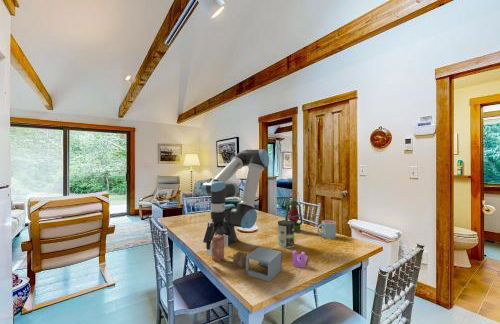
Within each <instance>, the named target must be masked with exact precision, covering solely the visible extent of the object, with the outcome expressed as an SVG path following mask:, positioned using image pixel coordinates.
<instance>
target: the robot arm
mask: <svg viewBox="0 0 500 324" xmlns="http://www.w3.org/2000/svg"><path fill="white" fill-rule="evenodd" d="M269 164H270V156H269V153H268V151H267V150H266V149H261V148H258V149H244V150H241V151H239V152H238V153H237V154H235V155H234V156H233V157H232V158H231V160H230V162H229V163H227V165H225V167H224V168H223V169H221V170H220V171H219V173H218V174H216V175H215V177H213V178H212V179H211V180H210V181H209V182H208V181H207V182H203V184H201V193H202V194H203V195H206V196H210V219H211V222H210V221H209V222H207V225H206V226H207V228H206V231H205V234H204V236H203V241H202V242H203V243H205V244H206V247H205V248H206V255H207V256H210V257H212V239H213V236H215V235H217V234H218V235H223V236H224V248H229V245H231V244H234V243H236V242H237V241H238V236H237V232H236V230H235V227H237V228H241V229H251V228H253V227H254V226H255V224H256V222H257V218H258V212H257V210H256V207H255V206H254V205H255V200H256V197H257V192H258V186H259V183H260V179H261V178H260V177H261V174H262V172H263V171H264V170H265V167H268V166H269ZM244 167H247V168H248V170H247V171H248V172H247V176H246V180H245V183H244V188H243V190H242V194H241V199H240V201H239V202H238V203H237V204H236V207H235V204H233V203H229V204H226V199H227V198H233V197H235V196H237V195H238V194H239V190H240V189H239V186H238V185H237V184H236V183H235V182H234V183H231V182H230V183H228V181H230V179H231V178H232V177H233V176H234V175H235V174H236V173H237V172H238V170H241V169H242V168H244Z"/></svg>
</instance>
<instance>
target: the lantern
mask: <svg viewBox="0 0 500 324" xmlns="http://www.w3.org/2000/svg"><path fill="white" fill-rule="evenodd" d="M291 192H294V193H297V194H298V195H300V193H299V192H298V191H297V190H290V191H289V192H288V194H287V195H288V196H287V198H288V199H287V202H286V205H287V206H286V210H285V216H284V217H285V218H284V220H288V221H293V222H294V223H295V224H294V234H296V233H300V232H302V229H301V226H302V225H303V223H304V222H303V221H304V220H303V214H302V207H301V205H302V203H301V201H300V197H298V199H296V198H295V197H292V198H291V199H289V197H290V193H291ZM289 200H290V202H289ZM298 202H299V203H298ZM297 206H298V207H297ZM298 221H300V222H298Z"/></svg>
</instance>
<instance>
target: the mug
mask: <svg viewBox="0 0 500 324" xmlns="http://www.w3.org/2000/svg"><path fill="white" fill-rule="evenodd" d="M320 228H321V232H320ZM317 233H318V234H319V235H320V236H321V237H322V238H324V239H329V240H331V239H333V240H334V239H336V236H337V235H336V233H337V222H336V221H334V220H328V219H326V220H325V219H324V220H321V223H320V224H319V225H318V226H317Z"/></svg>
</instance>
